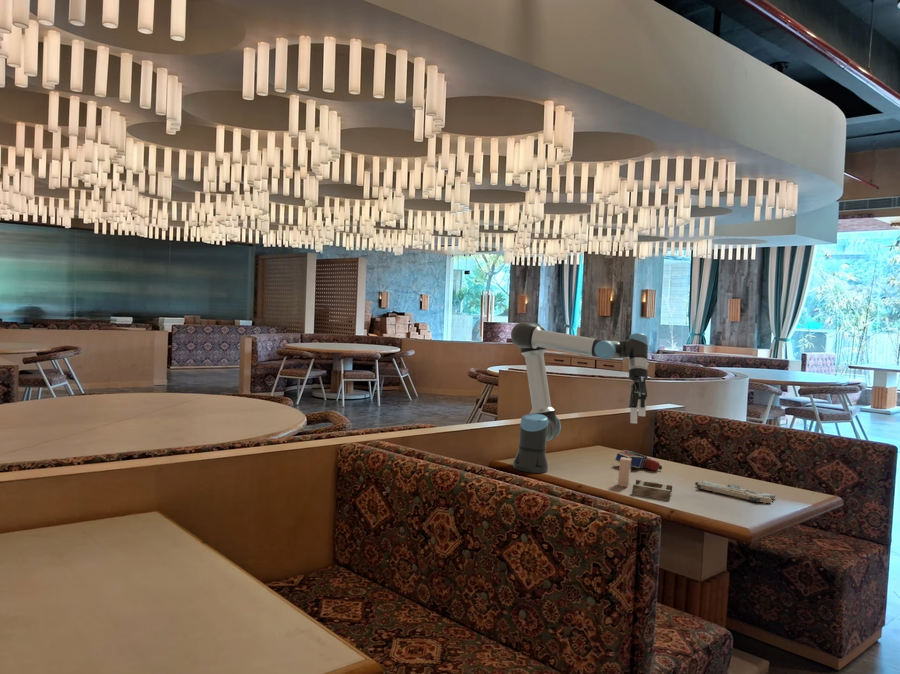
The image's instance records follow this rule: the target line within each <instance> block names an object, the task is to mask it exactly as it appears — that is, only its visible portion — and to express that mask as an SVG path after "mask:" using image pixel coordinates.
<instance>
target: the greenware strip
mask: <svg viewBox="0 0 900 674" xmlns="http://www.w3.org/2000/svg"><path fill="white" fill-rule="evenodd" d="M631 461H632V458H625V457H621V459H620V462H619V468H618V478H617V486H618V485H620V486H619V487H623V486H625V487H624V488H628V487H629V486H630V481H631V471H632V469H631Z"/></svg>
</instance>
